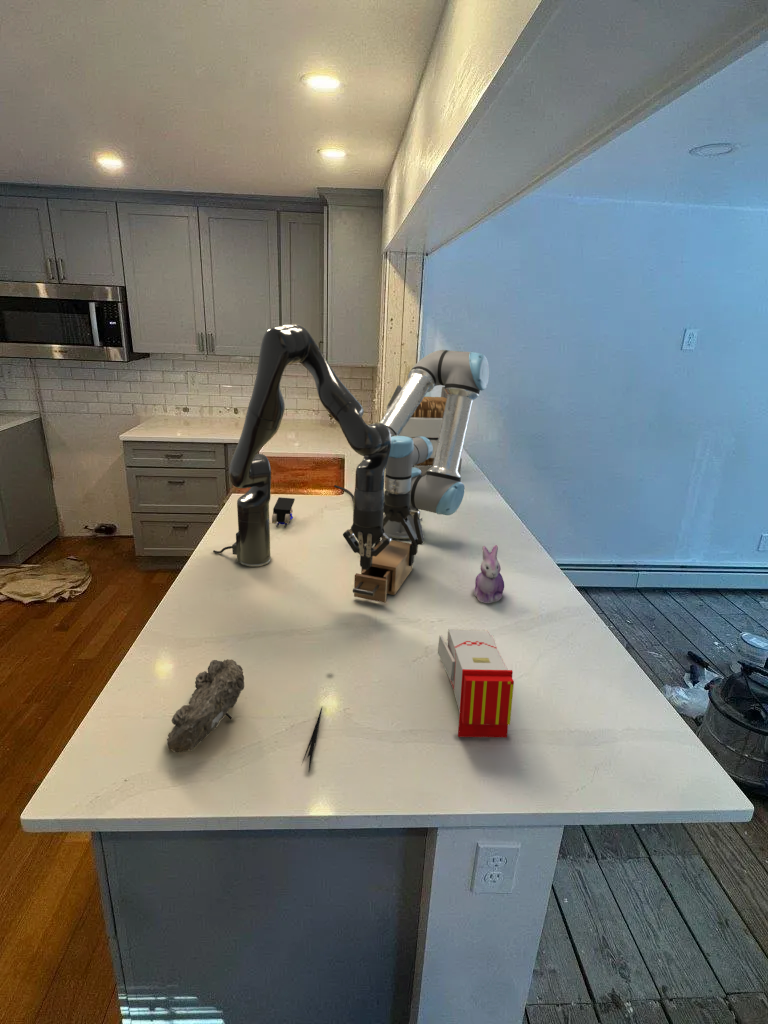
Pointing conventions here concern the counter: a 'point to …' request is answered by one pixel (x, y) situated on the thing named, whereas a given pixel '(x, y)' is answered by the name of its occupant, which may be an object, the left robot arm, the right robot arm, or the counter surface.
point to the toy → (478, 682)
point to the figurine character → (283, 511)
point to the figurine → (489, 578)
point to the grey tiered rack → (426, 421)
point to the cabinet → (394, 562)
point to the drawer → (373, 584)
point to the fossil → (206, 705)
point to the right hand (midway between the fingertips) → (393, 561)
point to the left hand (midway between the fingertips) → (366, 568)
